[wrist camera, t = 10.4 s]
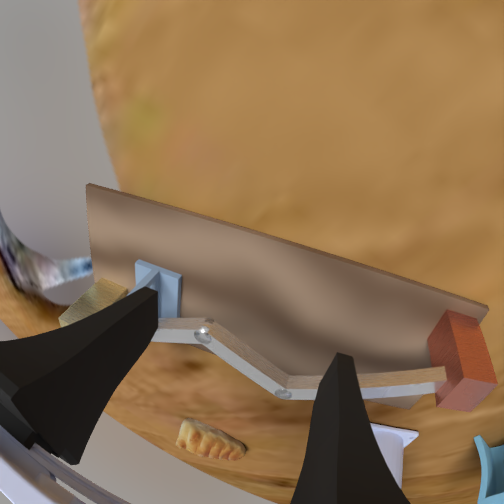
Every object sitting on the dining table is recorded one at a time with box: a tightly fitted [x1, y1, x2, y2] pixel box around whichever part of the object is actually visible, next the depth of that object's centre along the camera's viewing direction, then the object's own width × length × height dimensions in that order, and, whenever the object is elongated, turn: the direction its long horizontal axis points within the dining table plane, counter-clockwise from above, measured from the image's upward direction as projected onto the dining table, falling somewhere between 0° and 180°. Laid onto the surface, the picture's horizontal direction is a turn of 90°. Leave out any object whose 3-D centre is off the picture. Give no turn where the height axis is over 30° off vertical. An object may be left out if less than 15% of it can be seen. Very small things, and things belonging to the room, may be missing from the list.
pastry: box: [176, 418, 246, 460], centre depth 37 cm, size 9×7×4 cm
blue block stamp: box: [127, 259, 182, 318], centre depth 22 cm, size 4×6×10 cm, turn 170°
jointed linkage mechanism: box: [59, 277, 498, 412], centre depth 21 cm, size 5×32×6 cm, turn 92°
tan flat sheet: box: [86, 183, 489, 409], centre depth 24 cm, size 13×32×1 cm, turn 80°
